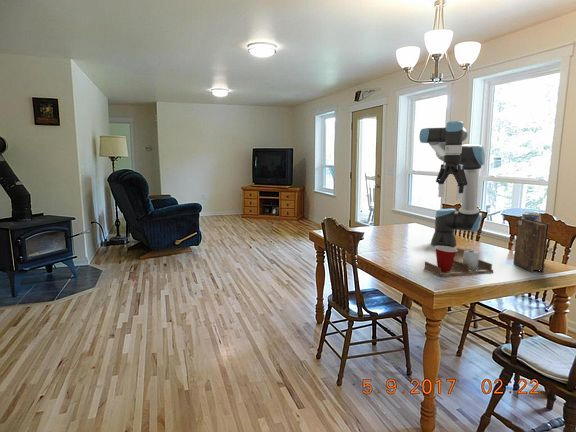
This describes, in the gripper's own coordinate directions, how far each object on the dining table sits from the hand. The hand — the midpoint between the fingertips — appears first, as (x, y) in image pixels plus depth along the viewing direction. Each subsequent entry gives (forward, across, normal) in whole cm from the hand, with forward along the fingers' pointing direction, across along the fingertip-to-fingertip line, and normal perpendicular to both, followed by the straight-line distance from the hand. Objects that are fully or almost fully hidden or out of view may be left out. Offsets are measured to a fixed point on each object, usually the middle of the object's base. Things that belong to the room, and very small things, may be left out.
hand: (449, 198), depth 183 cm
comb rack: (+37, +1, +6) cm, 37 cm away
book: (+37, +6, +44) cm, 58 cm away
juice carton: (+37, -8, +58) cm, 70 cm away
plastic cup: (+37, 0, 0) cm, 37 cm away
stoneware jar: (+37, 0, +14) cm, 40 cm away
